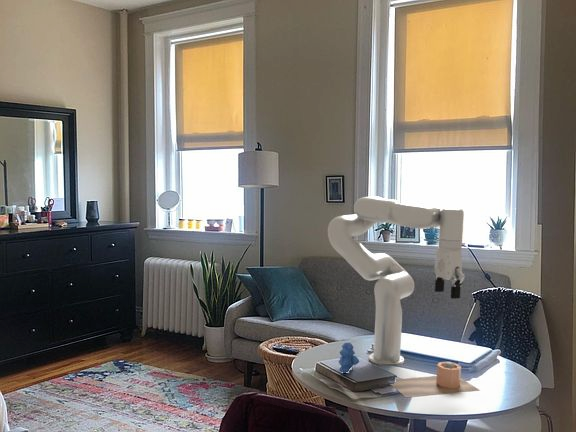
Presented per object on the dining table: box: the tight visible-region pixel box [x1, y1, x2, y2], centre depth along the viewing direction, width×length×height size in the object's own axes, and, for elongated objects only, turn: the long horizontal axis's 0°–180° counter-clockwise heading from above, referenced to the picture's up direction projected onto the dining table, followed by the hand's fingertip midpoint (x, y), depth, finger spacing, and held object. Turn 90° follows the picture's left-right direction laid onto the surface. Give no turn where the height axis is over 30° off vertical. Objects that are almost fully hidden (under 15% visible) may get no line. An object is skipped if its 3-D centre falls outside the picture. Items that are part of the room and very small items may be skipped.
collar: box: [436, 361, 462, 388], centre depth 189 cm, size 7×7×6 cm
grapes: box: [338, 342, 360, 373], centre depth 196 cm, size 12×7×12 cm, turn 159°
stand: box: [389, 361, 480, 398], centre depth 187 cm, size 14×26×8 cm, turn 107°
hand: (447, 294), depth 198 cm, fingers open, 9 cm apart
